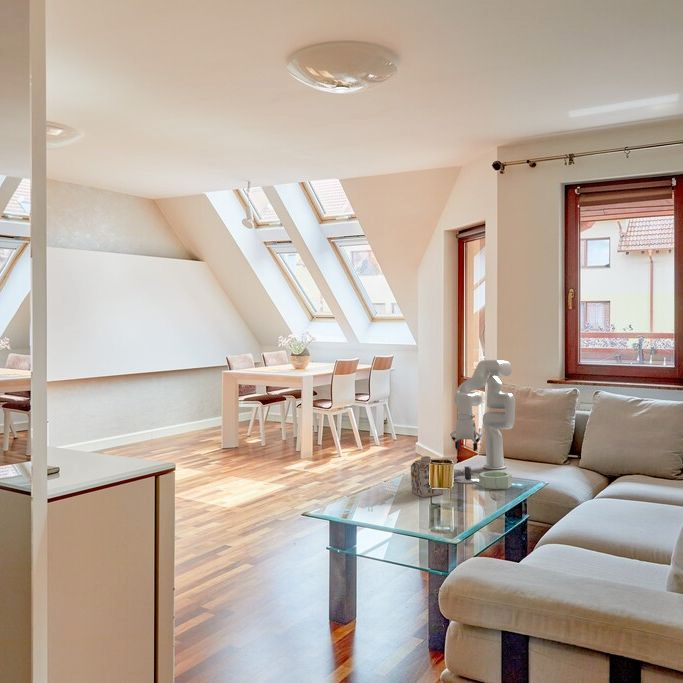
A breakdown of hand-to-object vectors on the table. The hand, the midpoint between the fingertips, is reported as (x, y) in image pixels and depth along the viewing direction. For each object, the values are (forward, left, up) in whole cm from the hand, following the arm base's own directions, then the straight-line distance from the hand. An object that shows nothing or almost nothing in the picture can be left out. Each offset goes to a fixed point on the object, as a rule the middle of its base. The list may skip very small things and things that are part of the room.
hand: (466, 450), depth 352 cm
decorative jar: (+32, -8, -17) cm, 37 cm away
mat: (0, 0, -16) cm, 16 cm away
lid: (0, 0, -16) cm, 16 cm away
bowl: (+6, +17, -16) cm, 24 cm away
